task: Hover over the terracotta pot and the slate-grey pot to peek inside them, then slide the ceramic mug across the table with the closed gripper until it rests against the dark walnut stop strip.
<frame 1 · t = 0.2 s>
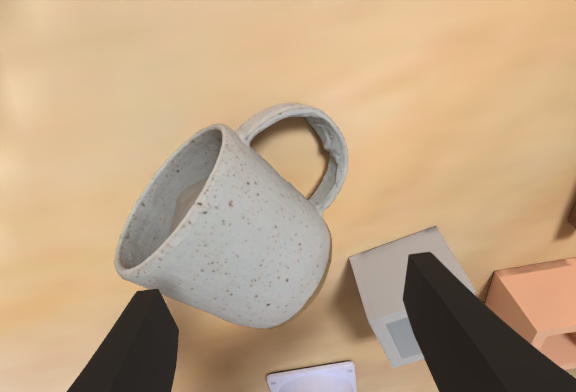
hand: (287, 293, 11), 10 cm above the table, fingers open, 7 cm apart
terracotta pot: (525, 289, 28), on the table, touching cork ball
slate pot: (401, 269, 26), on the table
ceramic mug: (248, 171, 20), on the table
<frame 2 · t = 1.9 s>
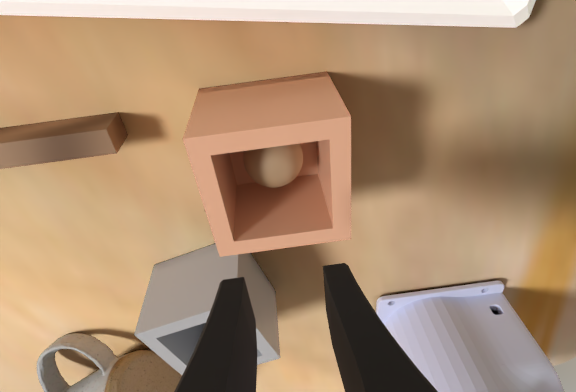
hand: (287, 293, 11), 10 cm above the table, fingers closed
terracotta pot: (271, 137, 19), on the table, touching cork ball
slate pot: (218, 278, 25), on the table
ceramic mug: (116, 360, 30), on the table
cork ball: (273, 158, 17), point 2 cm above the table, touching terracotta pot
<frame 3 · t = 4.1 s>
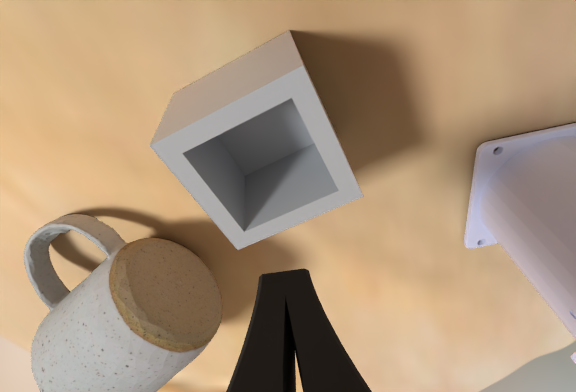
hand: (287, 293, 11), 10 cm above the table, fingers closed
slate pot: (261, 118, 18), on the table
ceramic mug: (129, 263, 23), on the table
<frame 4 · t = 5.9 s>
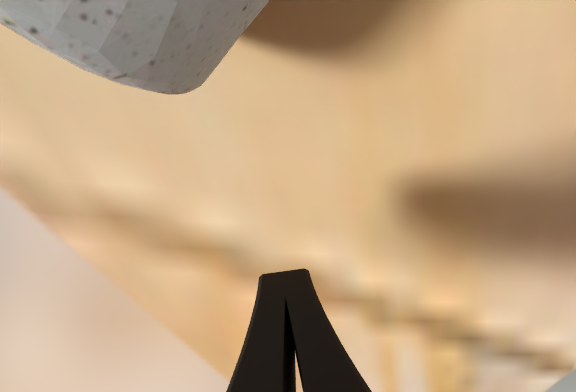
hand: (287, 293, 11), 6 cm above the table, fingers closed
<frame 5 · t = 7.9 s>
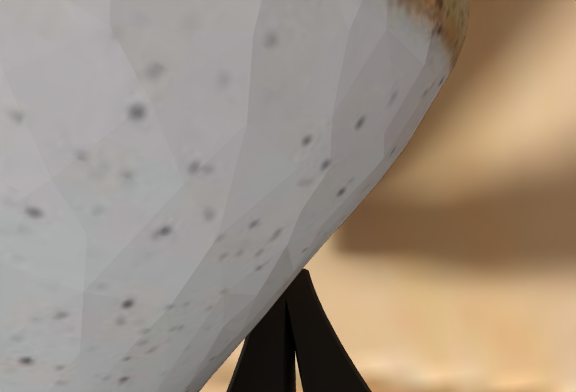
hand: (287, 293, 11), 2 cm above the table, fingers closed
ceramic mug: (105, 27, 8), on the table, touching gripper
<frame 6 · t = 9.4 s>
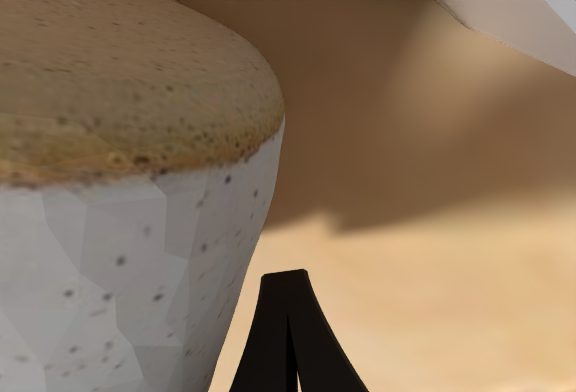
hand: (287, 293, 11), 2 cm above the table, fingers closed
ceramic mug: (63, 128, 10), on the table, touching gripper
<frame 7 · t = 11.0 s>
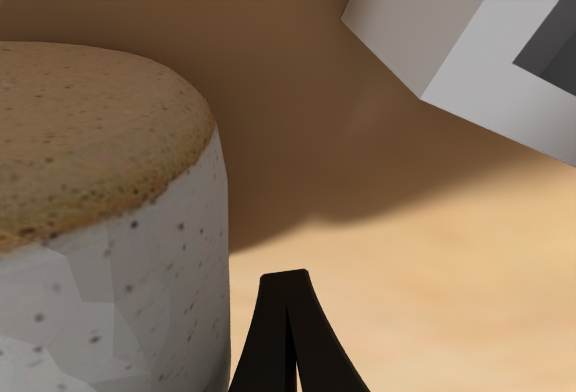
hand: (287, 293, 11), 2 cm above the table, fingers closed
ceramic mug: (64, 179, 11), on the table, touching gripper
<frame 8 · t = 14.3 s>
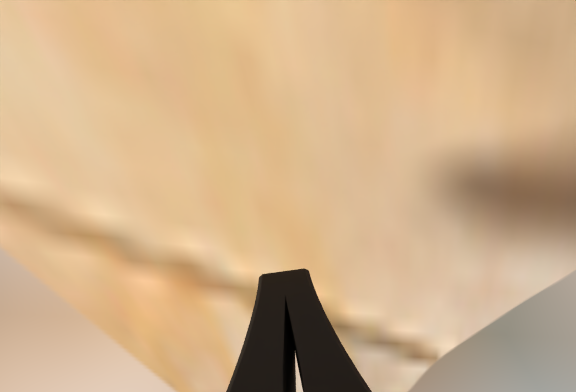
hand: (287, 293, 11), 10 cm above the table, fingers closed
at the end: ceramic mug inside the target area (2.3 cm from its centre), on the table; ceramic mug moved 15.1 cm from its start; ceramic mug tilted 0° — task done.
